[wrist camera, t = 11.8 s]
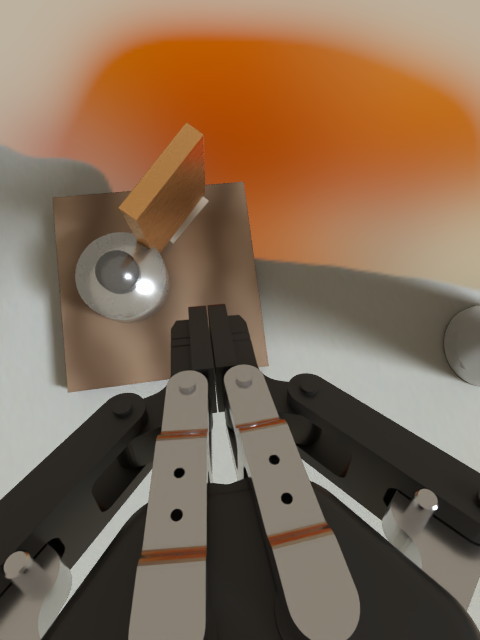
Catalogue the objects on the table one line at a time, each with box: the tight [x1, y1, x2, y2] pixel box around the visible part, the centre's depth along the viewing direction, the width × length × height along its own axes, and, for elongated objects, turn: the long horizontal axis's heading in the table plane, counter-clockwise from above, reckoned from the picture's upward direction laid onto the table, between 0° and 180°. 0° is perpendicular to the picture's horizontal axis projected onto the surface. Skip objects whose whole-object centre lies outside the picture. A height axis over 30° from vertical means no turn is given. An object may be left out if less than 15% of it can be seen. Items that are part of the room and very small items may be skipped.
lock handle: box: [75, 123, 205, 323], centre depth 33 cm, size 16×8×11 cm, turn 145°
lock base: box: [53, 182, 269, 392], centre depth 39 cm, size 20×20×2 cm
